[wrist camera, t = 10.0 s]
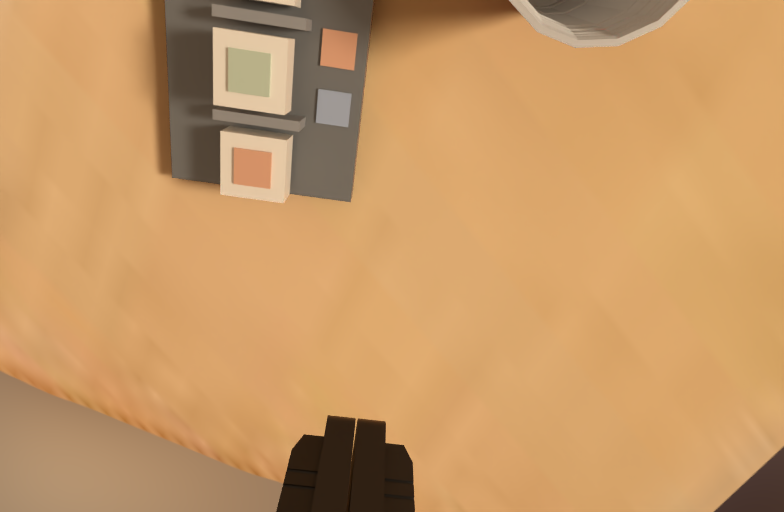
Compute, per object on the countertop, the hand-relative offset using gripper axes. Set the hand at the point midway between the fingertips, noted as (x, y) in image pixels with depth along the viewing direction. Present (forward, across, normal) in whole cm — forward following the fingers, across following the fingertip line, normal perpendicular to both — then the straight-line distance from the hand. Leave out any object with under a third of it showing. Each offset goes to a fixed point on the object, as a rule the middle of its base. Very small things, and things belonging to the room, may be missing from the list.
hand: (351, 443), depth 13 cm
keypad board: (+29, +9, -6) cm, 31 cm away
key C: (+28, +9, 0) cm, 30 cm away
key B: (+27, +9, -7) cm, 29 cm away
